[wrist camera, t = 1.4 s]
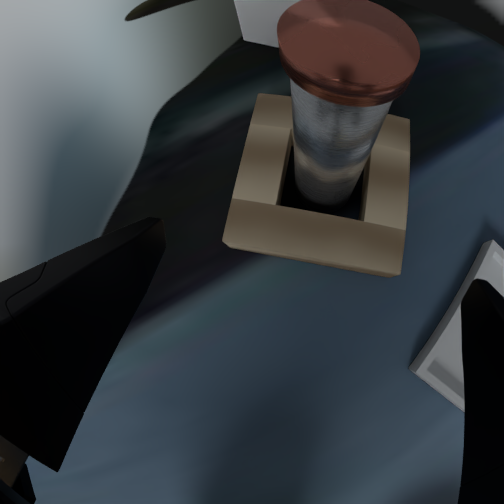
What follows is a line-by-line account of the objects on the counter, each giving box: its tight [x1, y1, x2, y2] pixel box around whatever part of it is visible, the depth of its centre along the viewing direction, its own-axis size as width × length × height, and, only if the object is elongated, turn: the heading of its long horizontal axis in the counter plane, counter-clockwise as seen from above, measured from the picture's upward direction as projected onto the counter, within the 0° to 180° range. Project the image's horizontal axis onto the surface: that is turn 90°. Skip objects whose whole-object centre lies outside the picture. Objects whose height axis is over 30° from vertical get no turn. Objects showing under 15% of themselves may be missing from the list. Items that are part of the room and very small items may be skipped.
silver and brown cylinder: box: [277, 0, 420, 213], centre depth 15 cm, size 5×5×14 cm
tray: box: [408, 240, 504, 413], centre depth 17 cm, size 11×11×2 cm
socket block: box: [222, 93, 410, 278], centre depth 20 cm, size 11×11×2 cm
